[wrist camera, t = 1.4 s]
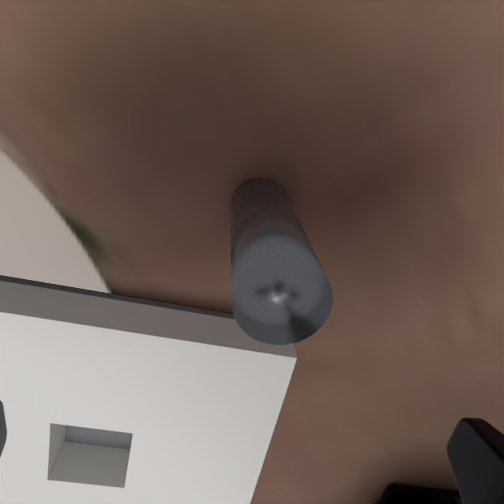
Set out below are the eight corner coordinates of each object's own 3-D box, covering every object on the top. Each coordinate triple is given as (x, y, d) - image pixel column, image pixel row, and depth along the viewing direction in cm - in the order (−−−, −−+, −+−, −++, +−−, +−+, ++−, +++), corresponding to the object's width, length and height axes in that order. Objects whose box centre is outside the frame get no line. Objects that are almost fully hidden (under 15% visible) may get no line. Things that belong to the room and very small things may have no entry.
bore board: (288, 323, 22) (297, 358, 20) (229, 519, 28) (229, 567, 26) (-71, 263, 20) (-120, 293, 17) (-54, 491, 26) (-87, 541, 23)
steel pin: (296, 185, 19) (345, 267, 11) (280, 240, 20) (316, 351, 12) (237, 172, 19) (243, 247, 11) (225, 229, 20) (222, 336, 12)
